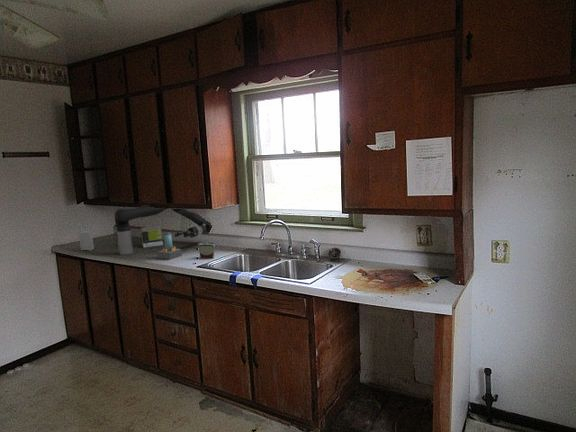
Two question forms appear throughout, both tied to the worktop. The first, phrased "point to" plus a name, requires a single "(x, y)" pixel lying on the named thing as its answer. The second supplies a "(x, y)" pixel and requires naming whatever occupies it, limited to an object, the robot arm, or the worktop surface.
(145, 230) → the tea box
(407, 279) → the worktop surface
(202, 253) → the food container
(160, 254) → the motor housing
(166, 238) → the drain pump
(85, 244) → the skincare box
